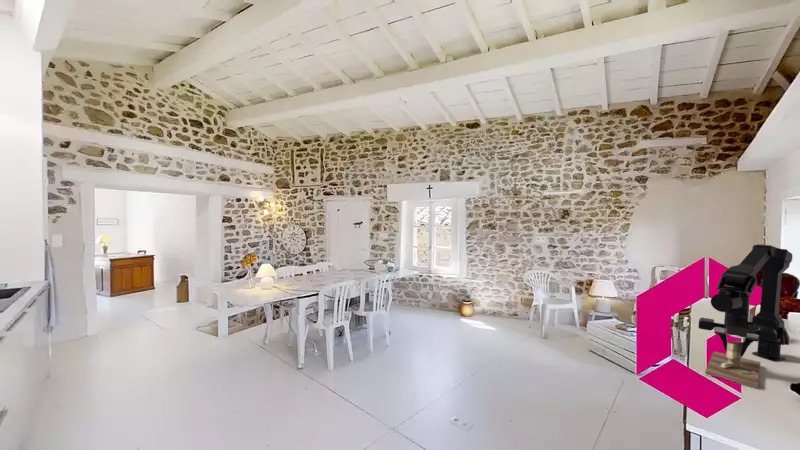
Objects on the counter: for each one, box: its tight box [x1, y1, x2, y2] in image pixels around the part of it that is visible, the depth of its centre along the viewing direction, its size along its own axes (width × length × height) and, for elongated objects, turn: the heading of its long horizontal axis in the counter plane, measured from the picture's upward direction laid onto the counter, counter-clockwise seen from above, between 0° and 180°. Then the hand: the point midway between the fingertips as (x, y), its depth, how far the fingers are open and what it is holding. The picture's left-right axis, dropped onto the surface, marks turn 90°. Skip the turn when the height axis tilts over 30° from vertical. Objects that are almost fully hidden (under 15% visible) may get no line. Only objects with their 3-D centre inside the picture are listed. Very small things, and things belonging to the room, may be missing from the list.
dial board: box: [704, 351, 761, 390], centre depth 119 cm, size 22×12×2 cm, turn 133°
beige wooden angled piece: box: [721, 340, 743, 368], centre depth 118 cm, size 8×3×8 cm, turn 108°
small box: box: [730, 304, 757, 340], centre depth 150 cm, size 8×6×13 cm
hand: (734, 354), depth 118 cm, fingers closed on beige wooden angled piece, 3 cm apart
